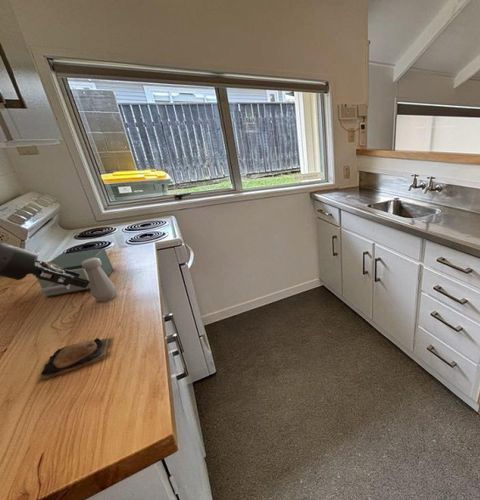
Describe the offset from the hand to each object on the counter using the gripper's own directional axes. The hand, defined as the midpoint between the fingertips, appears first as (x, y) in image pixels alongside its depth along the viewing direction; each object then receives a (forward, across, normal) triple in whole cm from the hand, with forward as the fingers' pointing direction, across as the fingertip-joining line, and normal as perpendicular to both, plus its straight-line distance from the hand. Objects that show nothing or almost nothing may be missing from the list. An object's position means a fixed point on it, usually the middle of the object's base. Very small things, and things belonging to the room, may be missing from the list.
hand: (82, 280), depth 81 cm
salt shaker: (+8, 0, +3) cm, 9 cm away
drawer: (+5, +16, +5) cm, 17 cm away
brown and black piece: (-2, -26, +13) cm, 29 cm away
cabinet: (+8, +20, +3) cm, 22 cm away
